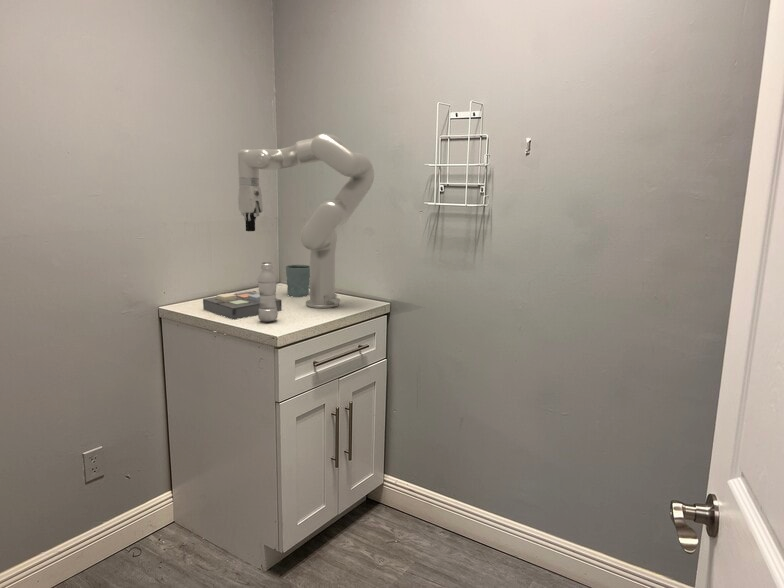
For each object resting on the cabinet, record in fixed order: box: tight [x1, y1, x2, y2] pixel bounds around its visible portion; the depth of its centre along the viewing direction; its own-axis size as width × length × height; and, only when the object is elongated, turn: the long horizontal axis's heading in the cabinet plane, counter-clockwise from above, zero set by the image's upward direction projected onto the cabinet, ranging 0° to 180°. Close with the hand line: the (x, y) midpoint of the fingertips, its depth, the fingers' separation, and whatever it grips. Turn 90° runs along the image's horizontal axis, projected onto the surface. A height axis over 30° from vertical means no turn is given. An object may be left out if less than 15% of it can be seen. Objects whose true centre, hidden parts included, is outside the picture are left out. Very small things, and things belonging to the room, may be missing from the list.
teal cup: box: [285, 264, 310, 298], centre depth 240 cm, size 10×10×12 cm
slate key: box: [248, 293, 260, 302], centre depth 212 cm, size 5×5×2 cm
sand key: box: [216, 293, 236, 302], centre depth 212 cm, size 5×5×2 cm
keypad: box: [202, 291, 283, 320], centre depth 212 cm, size 20×20×4 cm
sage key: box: [229, 300, 249, 305], centre depth 207 cm, size 5×5×2 cm
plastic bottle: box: [256, 261, 279, 323], centre depth 195 cm, size 6×7×20 cm
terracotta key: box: [236, 294, 251, 299], centre depth 218 cm, size 5×5×2 cm
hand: (250, 230), depth 225 cm, fingers closed
